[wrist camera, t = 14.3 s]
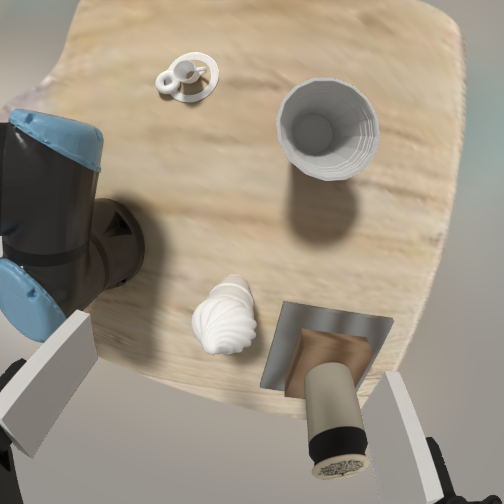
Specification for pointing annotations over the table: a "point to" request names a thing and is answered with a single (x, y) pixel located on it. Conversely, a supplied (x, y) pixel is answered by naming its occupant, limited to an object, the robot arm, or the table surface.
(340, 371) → the travel mug
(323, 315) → the base
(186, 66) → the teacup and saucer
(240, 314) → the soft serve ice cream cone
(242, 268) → the table surface
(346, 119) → the plastic cup
